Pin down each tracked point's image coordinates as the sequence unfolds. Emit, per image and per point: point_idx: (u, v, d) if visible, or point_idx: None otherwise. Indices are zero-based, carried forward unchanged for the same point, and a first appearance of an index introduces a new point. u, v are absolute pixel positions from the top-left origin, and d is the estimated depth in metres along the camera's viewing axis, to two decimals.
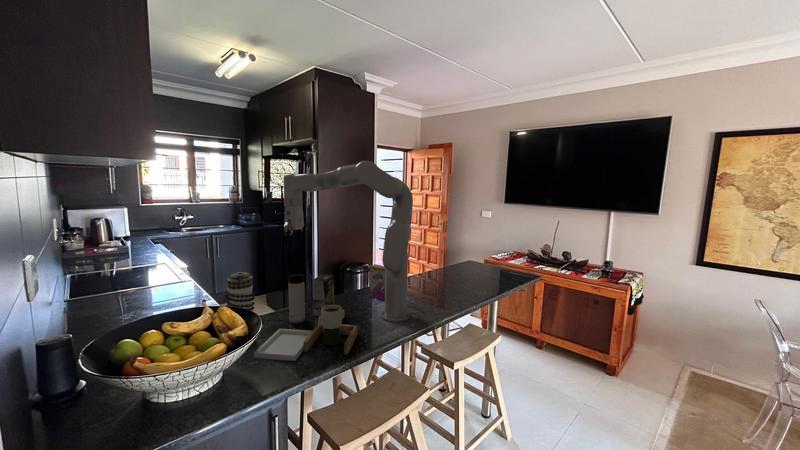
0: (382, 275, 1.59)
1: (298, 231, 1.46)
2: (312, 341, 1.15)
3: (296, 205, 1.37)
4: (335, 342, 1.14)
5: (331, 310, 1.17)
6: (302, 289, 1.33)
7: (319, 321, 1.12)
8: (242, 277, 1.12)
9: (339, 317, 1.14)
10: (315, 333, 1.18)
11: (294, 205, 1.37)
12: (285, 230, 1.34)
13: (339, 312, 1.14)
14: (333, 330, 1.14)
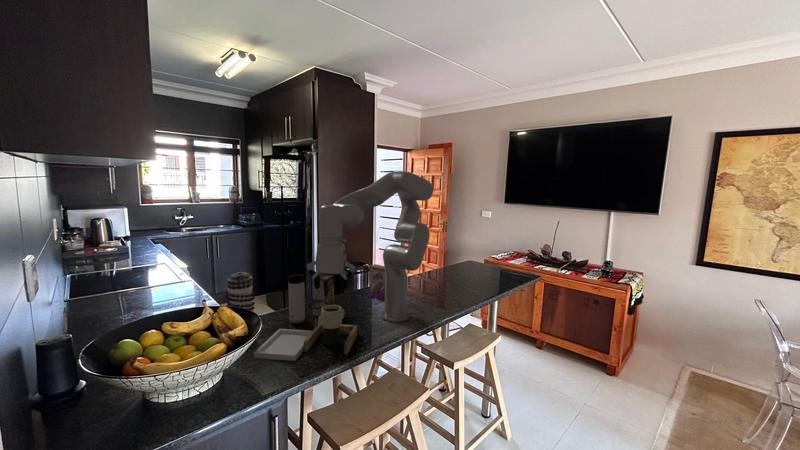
0: (382, 275, 1.59)
1: (318, 276, 1.14)
2: (312, 341, 1.15)
3: None
4: (335, 342, 1.14)
5: (331, 310, 1.17)
6: (302, 289, 1.33)
7: (319, 321, 1.12)
8: (242, 277, 1.12)
9: (339, 317, 1.14)
10: (315, 333, 1.18)
11: None
12: (352, 272, 1.13)
13: (339, 312, 1.14)
14: (333, 330, 1.14)
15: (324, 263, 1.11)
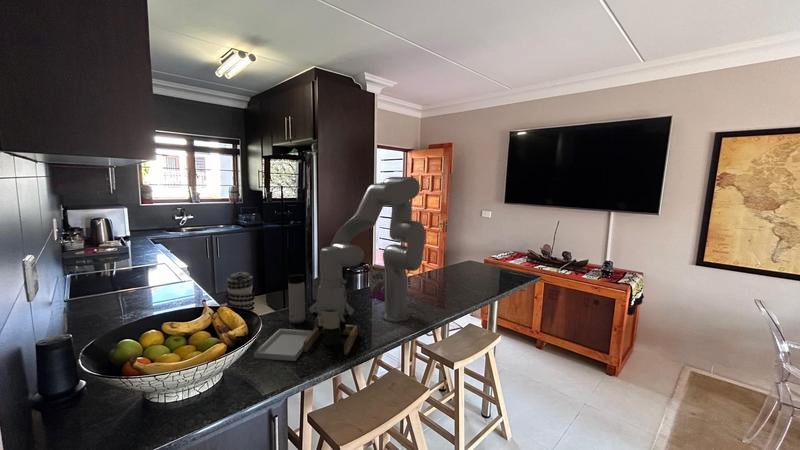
0: (382, 275, 1.59)
1: None
2: (312, 341, 1.15)
3: None
4: (335, 342, 1.14)
5: None
6: (302, 289, 1.33)
7: (319, 321, 1.12)
8: (242, 277, 1.12)
9: (339, 317, 1.14)
10: (315, 333, 1.18)
11: None
12: None
13: None
14: (333, 330, 1.14)
15: (325, 305, 1.13)
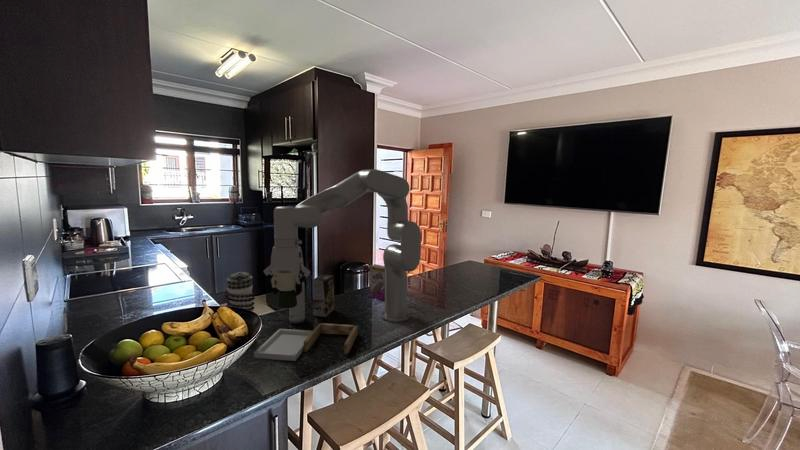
0: (382, 275, 1.59)
1: None
2: (312, 341, 1.15)
3: None
4: (290, 305, 1.10)
5: None
6: (302, 289, 1.33)
7: (272, 282, 1.08)
8: (242, 277, 1.12)
9: (294, 279, 1.10)
10: (315, 333, 1.18)
11: None
12: (306, 277, 1.11)
13: None
14: (288, 292, 1.10)
15: (279, 266, 1.09)
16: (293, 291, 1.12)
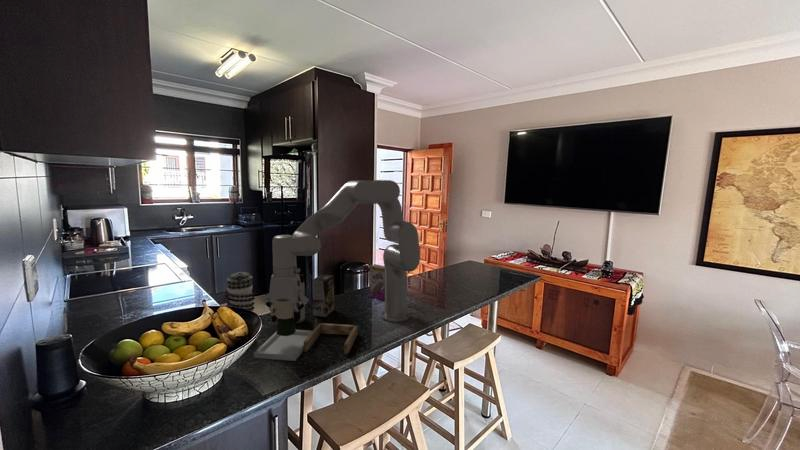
0: (382, 275, 1.59)
1: None
2: (312, 341, 1.15)
3: None
4: (288, 333, 1.11)
5: None
6: (302, 289, 1.33)
7: (271, 311, 1.09)
8: (242, 277, 1.12)
9: (293, 307, 1.11)
10: (315, 333, 1.18)
11: None
12: (304, 305, 1.12)
13: None
14: (286, 320, 1.11)
15: (277, 294, 1.10)
16: (291, 318, 1.13)
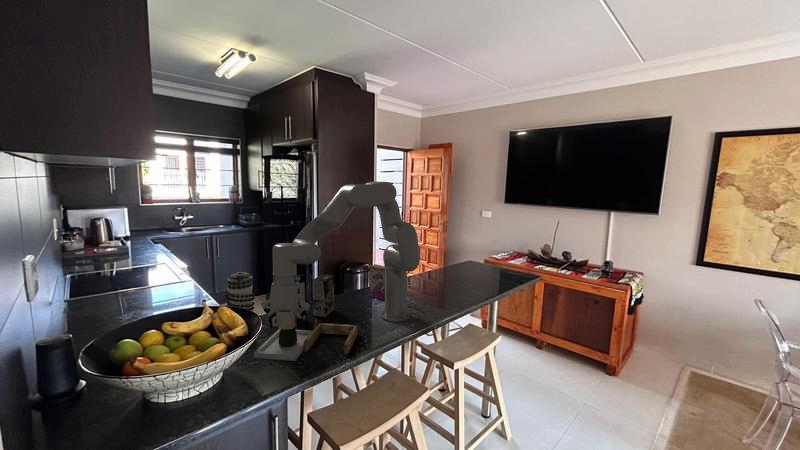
0: (382, 275, 1.59)
1: (273, 315, 1.14)
2: (312, 341, 1.15)
3: None
4: (290, 343, 1.12)
5: None
6: (302, 289, 1.33)
7: (273, 321, 1.09)
8: (242, 277, 1.12)
9: (294, 317, 1.12)
10: (315, 333, 1.18)
11: None
12: (307, 311, 1.12)
13: None
14: (288, 331, 1.12)
15: (278, 302, 1.10)
16: (293, 329, 1.13)
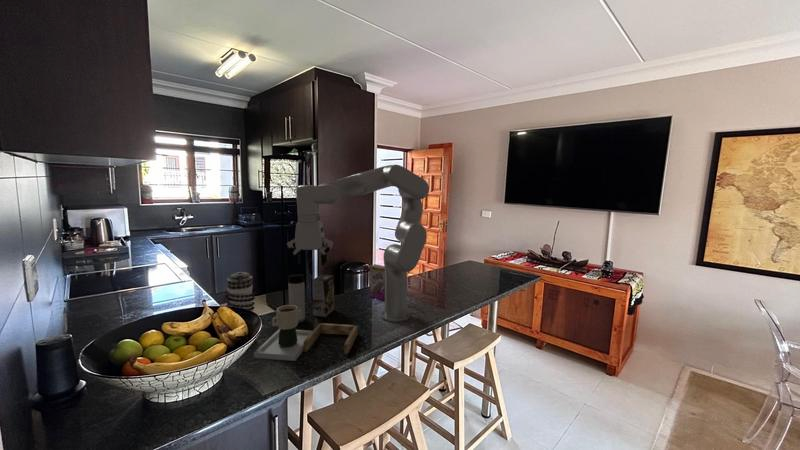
0: (382, 275, 1.59)
1: (298, 253, 1.22)
2: (312, 341, 1.15)
3: None
4: (290, 343, 1.12)
5: (287, 310, 1.14)
6: (302, 289, 1.33)
7: (273, 321, 1.09)
8: (242, 277, 1.12)
9: (294, 317, 1.12)
10: (315, 333, 1.18)
11: (319, 220, 1.21)
12: (330, 248, 1.20)
13: (294, 312, 1.11)
14: (288, 331, 1.12)
15: (303, 240, 1.18)
16: (293, 329, 1.13)
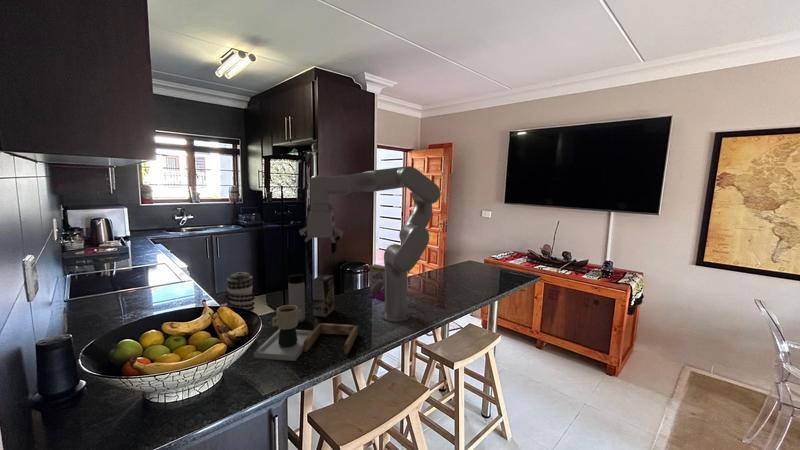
0: (382, 275, 1.59)
1: (309, 241, 1.27)
2: (312, 341, 1.15)
3: None
4: (290, 343, 1.12)
5: (287, 310, 1.14)
6: (302, 289, 1.33)
7: (273, 321, 1.09)
8: (242, 277, 1.12)
9: (294, 317, 1.12)
10: (315, 333, 1.18)
11: None
12: (340, 237, 1.25)
13: (294, 312, 1.11)
14: (288, 331, 1.12)
15: (315, 228, 1.23)
16: (293, 329, 1.13)
